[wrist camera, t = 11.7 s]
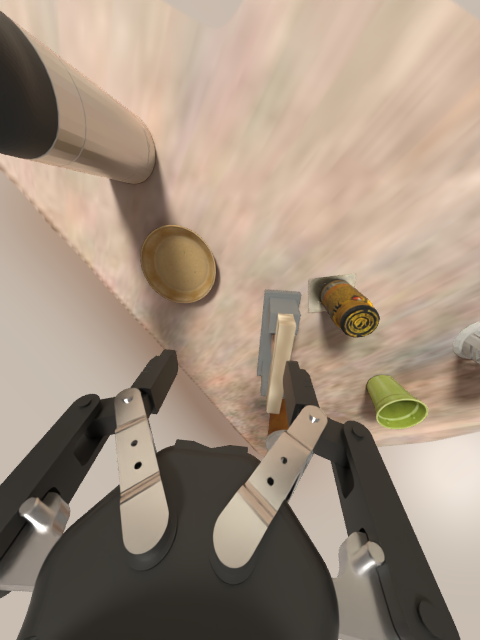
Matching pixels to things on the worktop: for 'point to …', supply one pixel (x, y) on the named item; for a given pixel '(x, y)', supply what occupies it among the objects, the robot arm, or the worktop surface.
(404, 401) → the plant pot
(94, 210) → the worktop surface
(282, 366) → the ash bar
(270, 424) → the disposable coffee cup
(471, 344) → the french press
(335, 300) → the condiment
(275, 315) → the display stand
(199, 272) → the plant saucer
